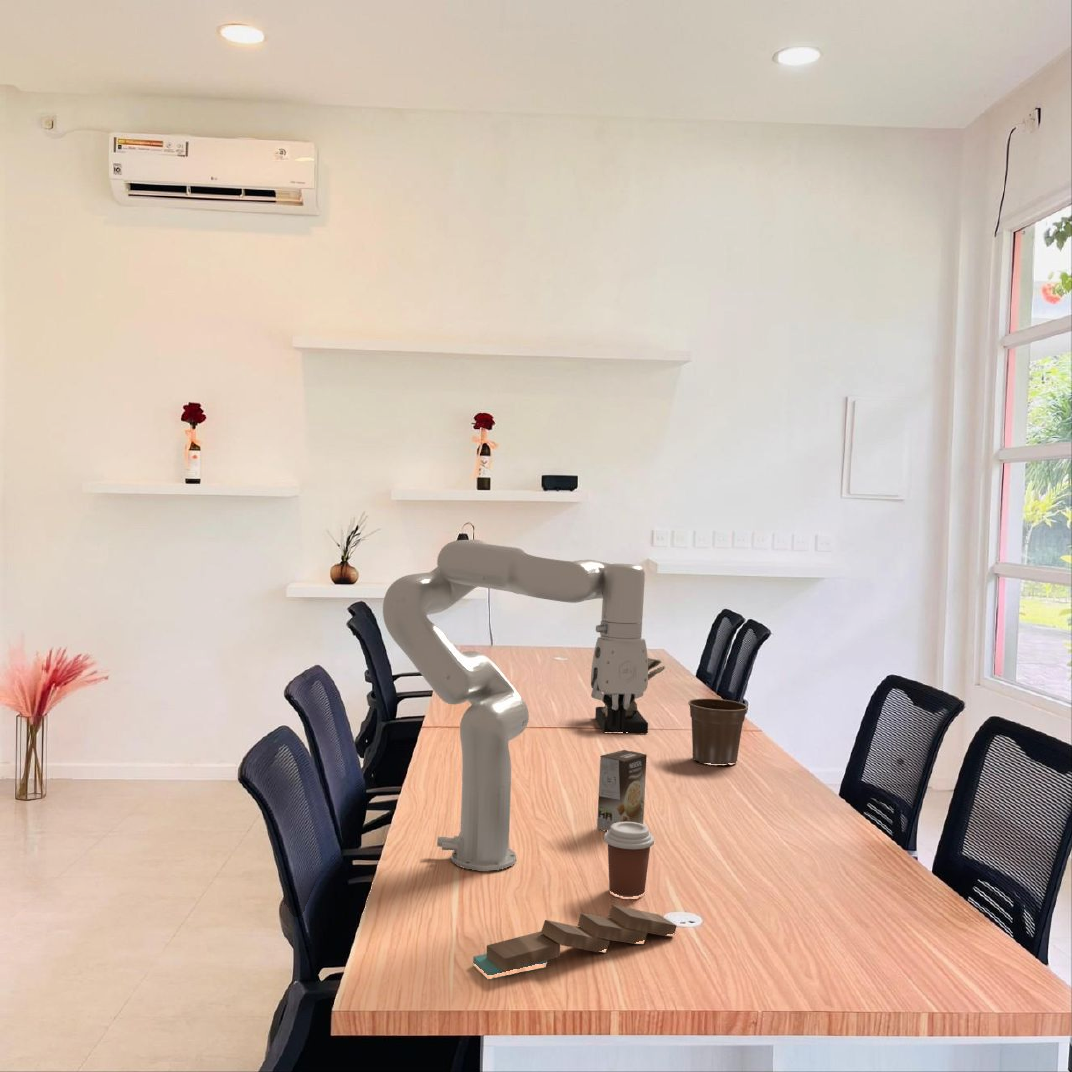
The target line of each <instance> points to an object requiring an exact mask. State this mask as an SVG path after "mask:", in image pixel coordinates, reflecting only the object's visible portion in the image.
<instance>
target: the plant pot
mask: <svg viewBox="0 0 1072 1072" xmlns="http://www.w3.org/2000/svg"><path fill="white" fill-rule="evenodd" d="M687 704H688V706H689V715H690V716H689V717H690V718H691V738H692V739H691V740H692V741H691V743H692V760H693V759H695V760H696V761H698V763H700V762H701V763H711V764H728V763H735V762H736V761H737V762H738V756H739V748H740V742H741V736H742V729H743V724H744V722H745V720H746V713H747V710H748V709H749V707H748V705H746V704H745V703H742V702H738V701H734V700H729V699H722V698H721V699H720V698H695V699H694V698H693V699H690V700H688V703H687ZM696 761H695V762H696ZM701 763H700V764H701Z"/></svg>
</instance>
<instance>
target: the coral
mask: <svg viewBox="0 0 1072 1072" xmlns="http://www.w3.org/2000/svg"><path fill="white" fill-rule="evenodd" d="M661 663H662V661H661V660H660V659H655V658H650V657H648V681H650V680H651V679H652V678H653V677H655V676H656V675H657V674H660V673H661V672H662V671H664V670H665V669H666V666H664V665H662V666H659V665H660V664H661ZM658 666H659V667H658ZM656 667H657V669H654V668H656ZM652 669H653V670H652ZM607 712H608V707H606V706H605V705H604V706H596V707H595V720H596V721H597V724H598V725H599V727H600V728H602V729H601V730H602V732H603V733H604V732H623V733H626V732H628V733H648V732H649V723H648V721H647V720H646V719H645V717H643V715H642V714H641V712H640V711H639V710H638V704H637V702H636V699H634V700H633V701H632V702H631V703H630V704H629V708H628V709H626V717H625V725H624V731H613V730H611V729H609V728H608V725H607ZM648 734H649V733H648Z"/></svg>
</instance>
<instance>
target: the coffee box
mask: <svg viewBox="0 0 1072 1072" xmlns="http://www.w3.org/2000/svg"><path fill="white" fill-rule="evenodd" d="M647 756H648V755H647V754H646V753H642V752H639V751H638V752H637V751H633V750H631V751H630V750H627V749H623V750H618V751H613V752H610V753H605V754H602V755H600V758H599V760H600V762H599V776H598V777H599V779H598V780H599V781H598V801H597V820H596V821H597V822H596V829H597V830H599V829H601V830H600V831H603V830H608V831H609V830H610V826H611V825H612V824H614V823H617V822H636V823H640V824H643V825H644V817H645V816H644V813H645V794H646V780H647V779H646V777H647V776H646V775H647Z"/></svg>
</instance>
